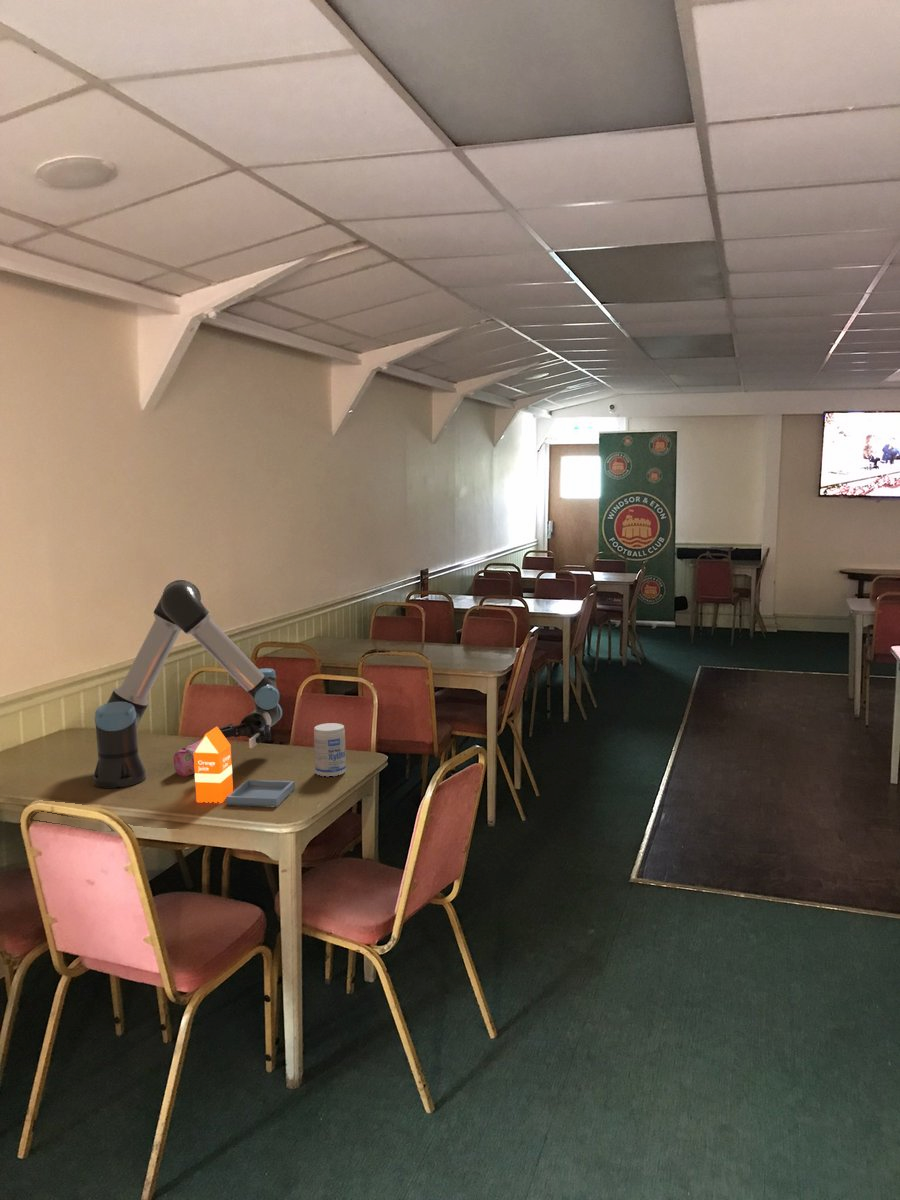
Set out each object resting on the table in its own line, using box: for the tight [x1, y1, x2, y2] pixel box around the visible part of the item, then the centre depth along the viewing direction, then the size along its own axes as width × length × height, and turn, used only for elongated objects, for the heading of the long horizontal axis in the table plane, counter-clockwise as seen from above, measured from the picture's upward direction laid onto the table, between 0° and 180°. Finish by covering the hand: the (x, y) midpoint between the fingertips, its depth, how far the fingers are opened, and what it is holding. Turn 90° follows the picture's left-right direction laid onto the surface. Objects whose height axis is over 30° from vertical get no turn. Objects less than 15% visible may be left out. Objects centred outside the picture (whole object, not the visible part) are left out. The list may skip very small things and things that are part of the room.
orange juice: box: [194, 726, 234, 804], centre depth 265 cm, size 8×9×20 cm
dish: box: [225, 779, 296, 808], centre depth 265 cm, size 15×15×2 cm
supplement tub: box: [313, 722, 347, 778], centre depth 285 cm, size 10×10×15 cm
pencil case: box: [173, 739, 202, 777], centre depth 295 cm, size 21×9×9 cm, turn 163°
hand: (228, 743), depth 275 cm, fingers open, 13 cm apart
